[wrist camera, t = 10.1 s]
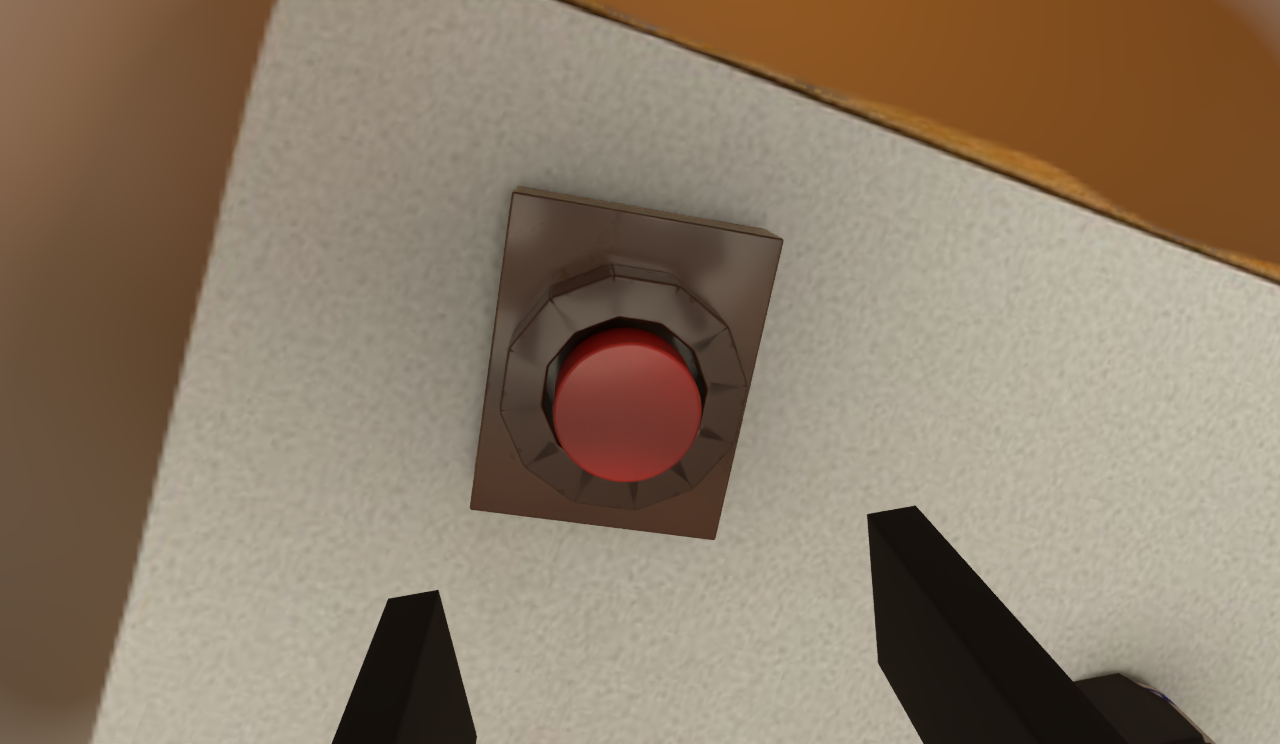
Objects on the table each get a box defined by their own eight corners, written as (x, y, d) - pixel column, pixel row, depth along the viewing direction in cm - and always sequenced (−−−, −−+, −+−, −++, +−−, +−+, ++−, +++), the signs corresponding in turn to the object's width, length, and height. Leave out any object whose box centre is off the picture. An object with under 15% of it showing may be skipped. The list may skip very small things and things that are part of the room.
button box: (517, 185, 25) (506, 196, 21) (767, 229, 26) (800, 247, 22) (477, 480, 28) (461, 537, 24) (705, 510, 29) (725, 569, 25)
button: (565, 316, 23) (565, 331, 21) (705, 338, 23) (715, 355, 21) (544, 448, 24) (542, 473, 22) (678, 466, 24) (686, 492, 22)
